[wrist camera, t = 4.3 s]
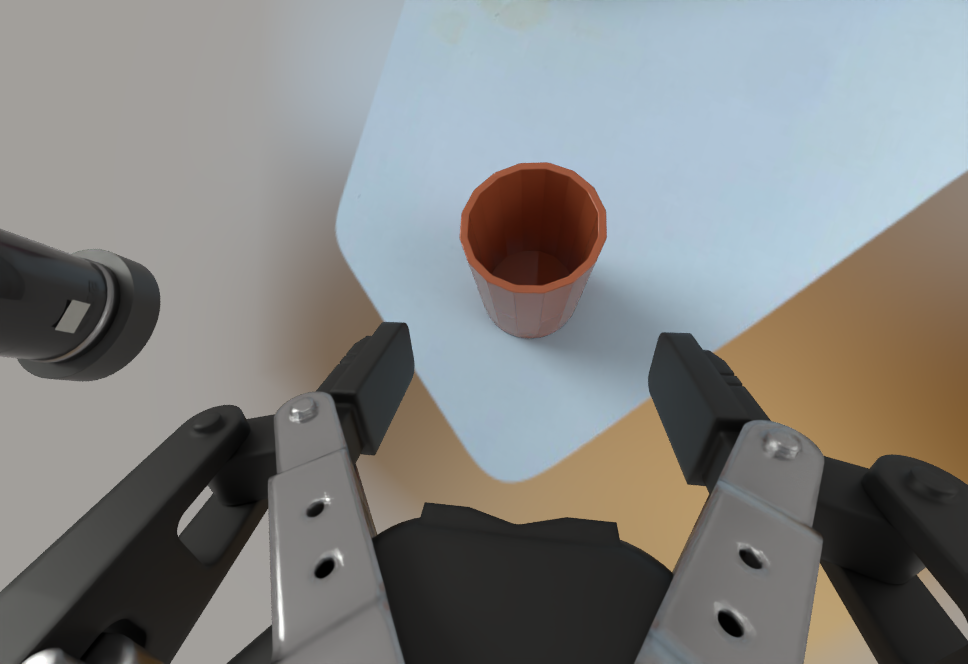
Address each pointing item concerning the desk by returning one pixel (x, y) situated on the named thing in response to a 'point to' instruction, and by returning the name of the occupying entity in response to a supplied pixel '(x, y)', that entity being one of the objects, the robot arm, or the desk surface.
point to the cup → (532, 245)
